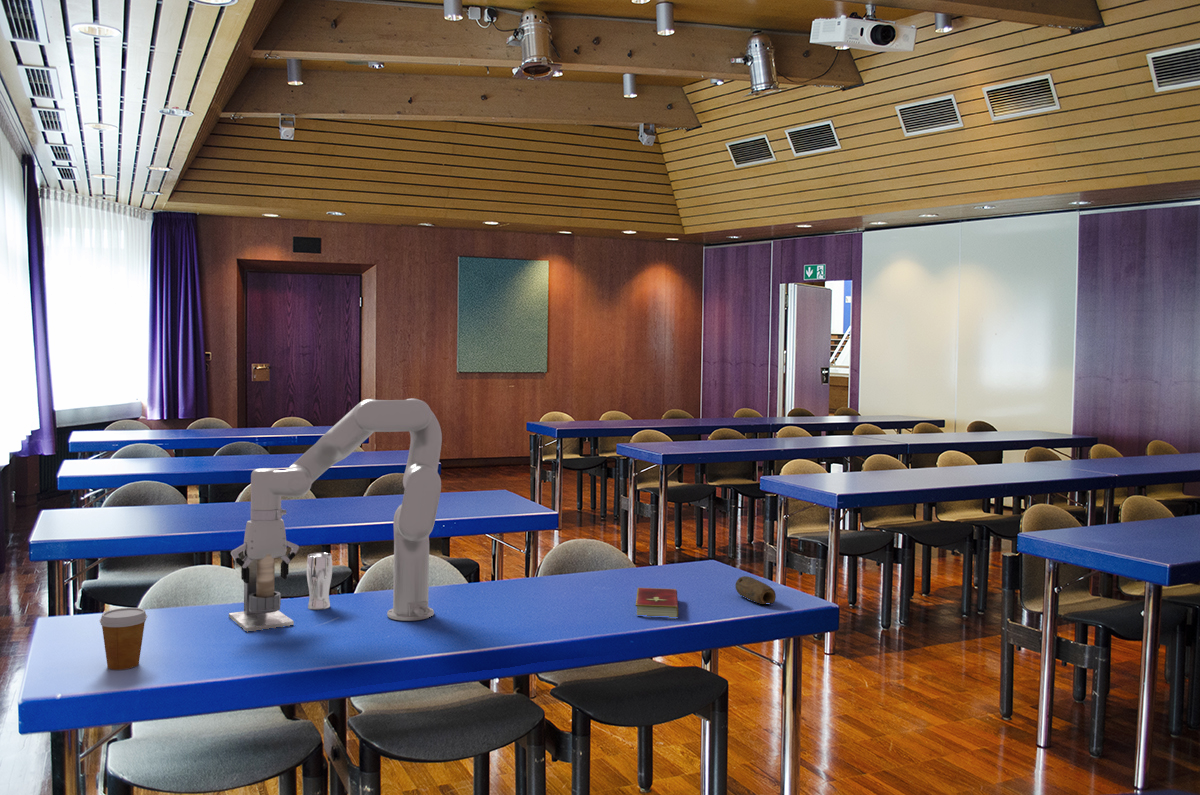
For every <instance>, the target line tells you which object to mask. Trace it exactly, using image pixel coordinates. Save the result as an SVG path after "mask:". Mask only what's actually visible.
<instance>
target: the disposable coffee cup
mask: <svg viewBox="0 0 1200 795" xmlns="http://www.w3.org/2000/svg"><path fill="white" fill-rule="evenodd" d="M147 618H148V615H147V613H146V610H145V609H143V608H141V607H124V608H115V609H110V610H108V611H105V612H103V613H102V615H101V617H100V619H99V623H100V625H101V627H102V629H101V630H102V635H103V636H102V637H103V642H104V650H105V651H104V652H105V658H106V664H107V665H106V666H107V669H108V670H113V671H122V670H129V669H132V668H135V667H137V666H139V665H140V658H141V652H142V643H143V636H144V630H145V623H146V620H147Z"/></svg>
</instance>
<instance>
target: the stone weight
mask: <svg viewBox="0 0 1200 795" xmlns="http://www.w3.org/2000/svg"><path fill="white" fill-rule="evenodd" d="M735 590H736V592H737V593H738V595H740V596H741V595H742V596H744V597H746V598H748V599H750V600H752V601H755V602H757V603H760V604H766V603H772V604H774V603H775V601H776V599H777V597H776V596H777V595H776V591H775V590H774V588H772V587H771V586H770V585H768V584H766V583H764V582H762V581H760V580H759V579H756V578H754V577H752V576H746V575H745V576H744V575H743V576H739V578H738V579H737V580H736V581H735ZM742 596H741V597H742ZM744 597H743V598H744ZM746 598H745V599H746ZM748 599H747V600H748ZM750 600H749V601H750ZM752 601H751V602H752ZM757 603H756V604H757ZM760 604H759V605H760Z"/></svg>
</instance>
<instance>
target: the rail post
mask: <svg viewBox="0 0 1200 795" xmlns="http://www.w3.org/2000/svg"><path fill="white" fill-rule="evenodd" d="M275 559H276V558H272V557H271V555H270V554H267V555H266V556H265V558H264V559H261V560H257V593H256V597H271V596H274V591H275V573H276V572H275V569H276V568H275V565H276V564H275V563H276V562H275Z"/></svg>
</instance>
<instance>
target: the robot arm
mask: <svg viewBox="0 0 1200 795" xmlns="http://www.w3.org/2000/svg"><path fill="white" fill-rule="evenodd" d="M374 432H377V433H382V432H383V433H387V432H388V433H391V432H392V433H393V432H395V433H397V432H399V433H400V432H409V435H410V444H409V449H408V456H407V461H406V466H405V470H404V473H403V477H402V485H403V488H404V491H403V495H402V496H403V497H402V502H401V504H399V505H398V507H397V509H396V510H395V512H394V515H393V521H392V522H393V525H392V526H393V588H392V589H393V594H392V595H393V596H392V597H393V600H392V601H393V603H392V606H393V607H392V608H391V609H389V610H387V612H386V614H387V618H389V619H391V620H395V621H403V622H411V621H415V622H416V621H423V620H427V619H430V618H432V617H433V616H435V615H434V614H435V612H434V611H435V610H434V609H433V608H431V607H429V592H430V591H429V586H430V585H429V584H430V583H429V581H430V574H429V572H430V569H429V568H430V534H431V533H432V532H433V529H434V527H435V526H434V525H435V523H436V522H435V521H436V517H437V513H438V508H439V502H440V497H441V492H442V479H441V477H440V474H439V472H438V470H439V464H440V458H441V451H442V443H443V442H442V441H443V434H442V429H441V425H440V422H439V420H438V419H437V417H436V415H435V413H434V412H433V411H432V410H431V408H430V406H429V404H428V403H427V402H425V401H424V400H421V399H418V398H407V399H392V400H390V399H374V398H367V399H364V400H361V401H360V402H359V403H357V404H356V405H355V406H354V407H353V408H352V409H351V410H350V411H349V412H347V413H346V414H344V416H343V417H342V418H341V419H339V421H337V422H336V423H335V424H334V425H333V426H332V427H331V428H330V429H329V430H327V431H326V432H325V433H324V434H323V435H322V436H321V437H320V438H319V439H318V440H317V441H316V443H314V444H313V445H312V446H311V447H310V448H308V449H307V450H306V451H305V452H304V453H303V454H302V455H301V456H300V457H299V458H298V459H297V460H295V461H294V462H293V463H292V464H291V465H289V467H288V468H287V469H283V470H280V469H277V468H274V467H262V468H256V469H253V470H252V472H251V474H250V520H247V521H246V525H245V530H244V539H243V544H241V545H239V546H238V547H236V548H234V549H232V550H231V551H230V555H231V557H232V558H233V560H234V562H235V563H236V564H237V565H239V566H240V569H241V571H240V573H241V576H240V578H241V580H242V581H243V583H244V582H245V583H249V568H248V565H249V564H250V563H251V561H252V560H261V559H264V558H265V556H266V555H267V554H270V555H271V557H272V558H275V559H279V558H280V560H281V561H282V562H280V578H282V579H284V580H287V579H288V575H289V572H290V571H289V570H290V568H289V564H291V561H292V560H293V559H294V558H296V554H297V553H298V551H299V548H300V546H299V545H298V544H296V543H293V542H291V541H288V540H287V536H286V535H287V534H286V526H285V522H284V519H282V517H283V516H285V515H287V509H284V508H282V497H284V496H285V497H291V498H298V497H303V496H305V495H307V493H308V492H309V491H310V490H311V488H312V484H313V483H314V482H315V481H316V480H317V479H319V477H320V476H322V475H323V474H324V473H325V472H326V471H327V470H328V469H330V468H331V467H332V466H334V465H335V464H337V463H339V462H340V461H343V460H345V459H347V457H348V456H350V455H351V454H352V453H353V452H354V451H355V450H357V448H358V447H360V446H361V445H362V444H363V443H364V442H365V441H366V440H367V439H368V438H369V437H370V436H371V435H372V434H374ZM288 547H289V548H291V550H290V551H289V553H288V554H287V548H288ZM242 552H243V556H244V558H243V559H242V558H240V556H239V554H240V553H242ZM286 554H287V555H286ZM431 616H432V617H431ZM429 617H430V618H429Z"/></svg>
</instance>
